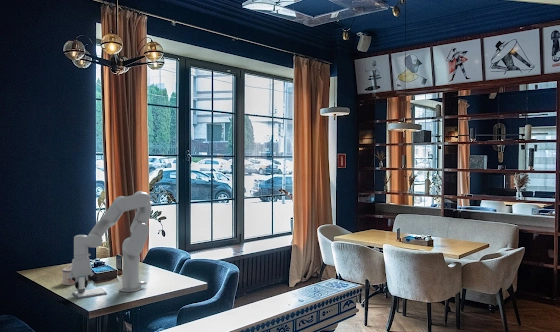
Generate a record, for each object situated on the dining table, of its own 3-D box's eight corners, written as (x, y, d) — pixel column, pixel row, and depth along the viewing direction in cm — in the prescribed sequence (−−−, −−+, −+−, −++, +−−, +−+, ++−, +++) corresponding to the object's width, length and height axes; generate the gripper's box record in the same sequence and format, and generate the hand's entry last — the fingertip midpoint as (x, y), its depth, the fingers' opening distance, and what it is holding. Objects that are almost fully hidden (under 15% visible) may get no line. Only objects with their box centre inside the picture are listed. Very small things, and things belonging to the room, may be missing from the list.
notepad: (100, 289, 282) (100, 287, 282) (106, 294, 272) (106, 292, 272) (72, 293, 272) (72, 291, 272) (77, 298, 263) (77, 297, 263)
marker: (83, 290, 273) (83, 270, 273) (85, 291, 270) (85, 271, 269) (76, 291, 271) (76, 271, 270) (78, 293, 267) (78, 272, 267)
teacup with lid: (69, 286, 287) (69, 267, 287) (58, 284, 291) (58, 265, 291) (84, 281, 298) (85, 263, 298) (74, 279, 302) (74, 261, 301)
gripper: (94, 253, 278) (94, 283, 278) (64, 257, 268) (64, 288, 268) (97, 255, 272) (98, 286, 272) (67, 259, 262) (67, 291, 262)
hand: (81, 287), depth 270 cm, fingers closed on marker, 3 cm apart
